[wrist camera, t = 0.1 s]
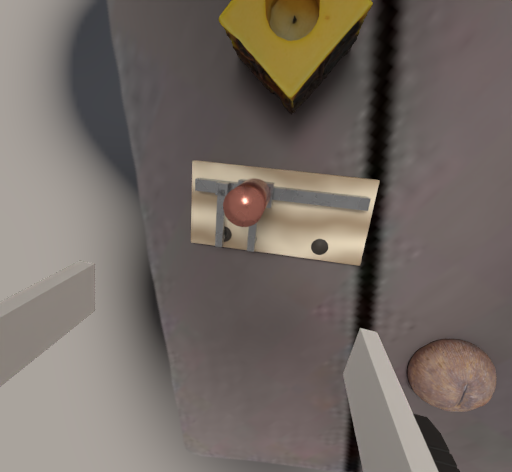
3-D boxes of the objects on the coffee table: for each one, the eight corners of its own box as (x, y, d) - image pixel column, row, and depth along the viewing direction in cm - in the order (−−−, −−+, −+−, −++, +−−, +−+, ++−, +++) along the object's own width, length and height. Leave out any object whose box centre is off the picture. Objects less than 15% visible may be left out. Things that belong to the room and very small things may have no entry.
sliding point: (243, 174, 37) (222, 184, 26) (275, 177, 37) (267, 189, 26) (238, 243, 40) (217, 277, 30) (267, 247, 40) (257, 283, 29)
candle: (292, 115, 36) (290, 104, 26) (235, 56, 34) (212, 21, 25) (354, 47, 32) (378, 5, 23) (294, -21, 31) (293, -94, 22)
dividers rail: (199, 177, 38) (191, 179, 36) (367, 196, 36) (373, 200, 33) (197, 236, 41) (190, 243, 39) (354, 258, 39) (358, 266, 36)
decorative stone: (407, 398, 47) (421, 430, 41) (403, 339, 43) (418, 366, 38) (485, 396, 44) (510, 429, 39) (488, 333, 41) (516, 360, 36)
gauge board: (195, 160, 39) (192, 160, 38) (377, 179, 36) (379, 180, 35) (193, 239, 43) (190, 242, 42) (358, 262, 40) (359, 265, 39)
